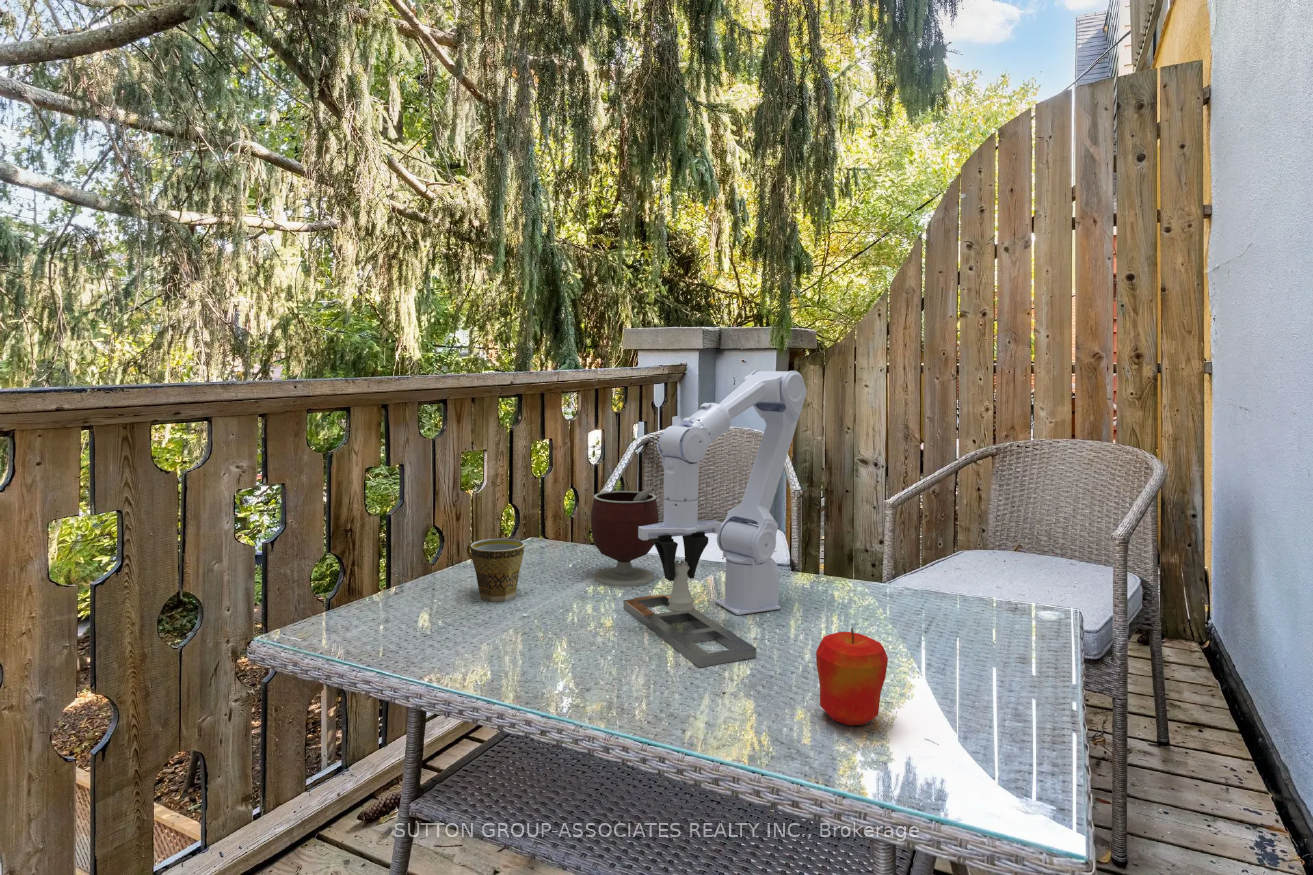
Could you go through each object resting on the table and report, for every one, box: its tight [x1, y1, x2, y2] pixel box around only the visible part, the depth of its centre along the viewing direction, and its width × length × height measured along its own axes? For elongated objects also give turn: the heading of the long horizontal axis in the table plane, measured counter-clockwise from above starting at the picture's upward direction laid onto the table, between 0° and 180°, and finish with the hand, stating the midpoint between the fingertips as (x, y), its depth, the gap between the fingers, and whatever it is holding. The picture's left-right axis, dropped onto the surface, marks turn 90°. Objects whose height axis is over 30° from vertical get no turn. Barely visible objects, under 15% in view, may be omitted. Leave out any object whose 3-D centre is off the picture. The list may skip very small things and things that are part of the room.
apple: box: [815, 627, 889, 726], centre depth 94 cm, size 9×8×12 cm
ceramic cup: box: [466, 538, 526, 603], centre depth 142 cm, size 13×10×10 cm
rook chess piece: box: [667, 560, 695, 612], centre depth 126 cm, size 4×4×8 cm
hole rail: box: [622, 593, 757, 668], centre depth 125 cm, size 10×29×2 cm, turn 25°
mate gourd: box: [590, 487, 660, 587], centre depth 154 cm, size 16×14×20 cm
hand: (679, 578), depth 126 cm, fingers closed on rook chess piece, 3 cm apart
